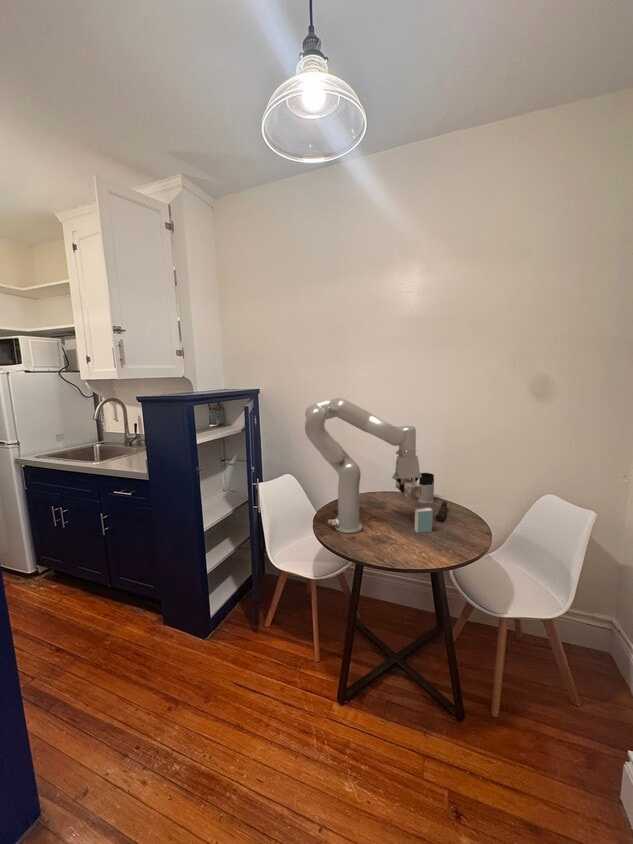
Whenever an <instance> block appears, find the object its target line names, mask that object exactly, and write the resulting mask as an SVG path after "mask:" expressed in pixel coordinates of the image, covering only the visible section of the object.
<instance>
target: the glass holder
mask: <svg viewBox="0 0 633 844" xmlns="http://www.w3.org/2000/svg"><path fill="white" fill-rule="evenodd" d="M420 474H421V475H422V477H421V478H419V479H418V480H419V481H418V480H417V481H416V484H417V485H418V486H420V500H417V501H418V503H421V502H422V503H421V504H425V503H431V504H433V503H432V502H434V503H435V500H434V489H435V488H434V487H435V475H434V474H433V473H429V472H420ZM409 479H410V478H409ZM410 480H411V479H410ZM417 482H418V483H417Z"/></svg>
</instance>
